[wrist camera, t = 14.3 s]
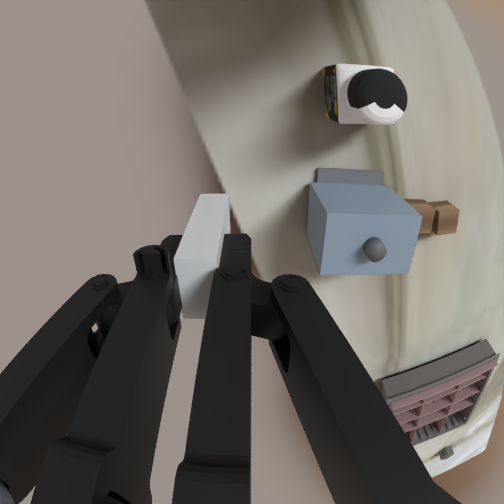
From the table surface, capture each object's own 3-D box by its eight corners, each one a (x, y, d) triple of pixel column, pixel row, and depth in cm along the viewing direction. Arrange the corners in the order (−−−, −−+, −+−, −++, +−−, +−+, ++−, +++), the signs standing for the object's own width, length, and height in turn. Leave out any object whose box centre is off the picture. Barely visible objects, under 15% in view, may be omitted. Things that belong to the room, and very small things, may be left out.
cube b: (427, 202, 44) (439, 212, 40) (446, 200, 44) (459, 209, 40) (425, 224, 46) (436, 235, 42) (444, 222, 46) (456, 232, 42)
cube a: (402, 198, 44) (414, 208, 40) (423, 199, 44) (435, 209, 40) (398, 221, 46) (409, 233, 42) (419, 222, 46) (430, 233, 42)
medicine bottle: (322, 66, 34) (349, 60, 24) (372, 69, 34) (414, 67, 24) (325, 117, 38) (352, 130, 28) (374, 118, 38) (414, 132, 27)
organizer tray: (376, 436, 85) (382, 461, 76) (377, 374, 65) (388, 408, 57) (459, 405, 80) (468, 427, 71) (486, 332, 61) (503, 358, 52)
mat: (317, 167, 42) (318, 168, 41) (382, 171, 42) (384, 172, 41) (310, 243, 48) (311, 245, 47) (371, 243, 48) (372, 245, 47)
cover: (310, 182, 42) (330, 219, 31) (388, 186, 42) (428, 222, 31) (306, 233, 46) (322, 283, 35) (379, 234, 46) (412, 280, 35)
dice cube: (438, 451, 104) (441, 459, 99) (445, 446, 101) (448, 455, 97) (444, 450, 105) (446, 458, 100) (451, 445, 102) (454, 453, 98)
